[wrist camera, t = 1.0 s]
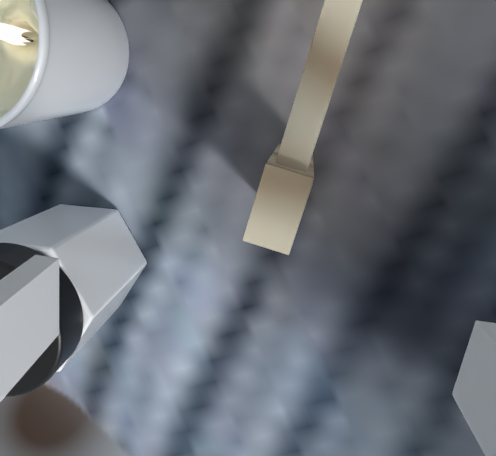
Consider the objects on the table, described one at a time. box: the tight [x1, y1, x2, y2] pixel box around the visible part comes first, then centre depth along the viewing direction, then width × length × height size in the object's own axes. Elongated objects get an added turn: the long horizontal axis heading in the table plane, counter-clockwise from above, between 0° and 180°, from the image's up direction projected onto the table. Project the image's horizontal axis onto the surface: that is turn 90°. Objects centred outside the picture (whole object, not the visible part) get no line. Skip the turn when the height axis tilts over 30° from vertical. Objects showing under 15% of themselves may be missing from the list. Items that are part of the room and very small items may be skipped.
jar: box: [0, 204, 147, 397], centre depth 30 cm, size 9×8×12 cm
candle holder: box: [0, 0, 129, 129], centre depth 26 cm, size 10×10×12 cm
